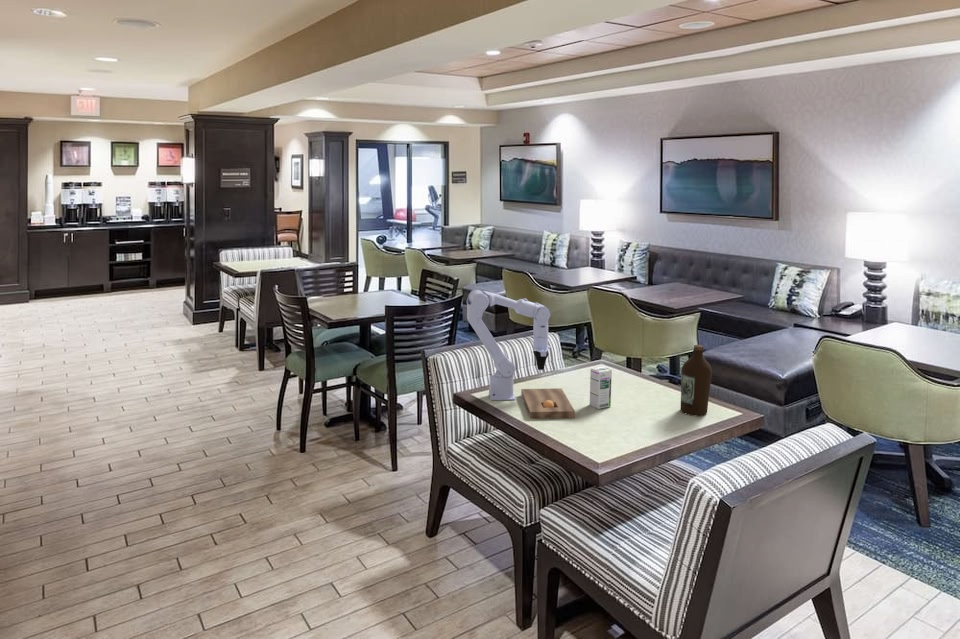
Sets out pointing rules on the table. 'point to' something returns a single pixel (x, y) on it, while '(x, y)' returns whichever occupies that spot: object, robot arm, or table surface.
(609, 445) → the table surface
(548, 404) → the ball
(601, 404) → the syrup box
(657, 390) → the table surface
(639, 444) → the table surface
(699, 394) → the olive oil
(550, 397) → the brown wooden flat board
